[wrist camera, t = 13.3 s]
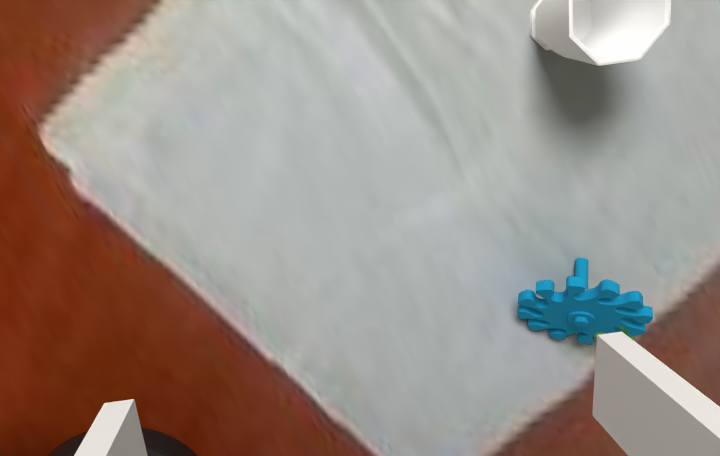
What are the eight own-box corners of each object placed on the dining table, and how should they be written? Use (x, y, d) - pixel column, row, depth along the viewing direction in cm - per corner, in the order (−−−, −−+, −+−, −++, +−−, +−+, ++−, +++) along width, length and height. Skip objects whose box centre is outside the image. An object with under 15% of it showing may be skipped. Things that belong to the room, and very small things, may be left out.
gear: (489, 310, 43) (601, 280, 35) (496, 250, 46) (601, 211, 38) (572, 362, 47) (688, 345, 40) (574, 304, 50) (681, 278, 43)
